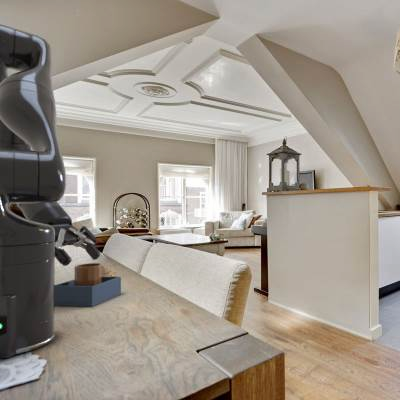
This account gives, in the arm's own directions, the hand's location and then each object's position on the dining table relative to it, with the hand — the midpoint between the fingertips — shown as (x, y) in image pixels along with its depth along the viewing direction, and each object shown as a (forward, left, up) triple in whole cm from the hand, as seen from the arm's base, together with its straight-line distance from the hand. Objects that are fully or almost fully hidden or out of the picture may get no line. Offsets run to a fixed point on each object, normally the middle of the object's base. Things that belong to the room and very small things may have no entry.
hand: (83, 260), depth 79 cm
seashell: (+20, +11, -10) cm, 25 cm away
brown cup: (0, -1, -9) cm, 9 cm away
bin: (0, -1, -10) cm, 10 cm away
